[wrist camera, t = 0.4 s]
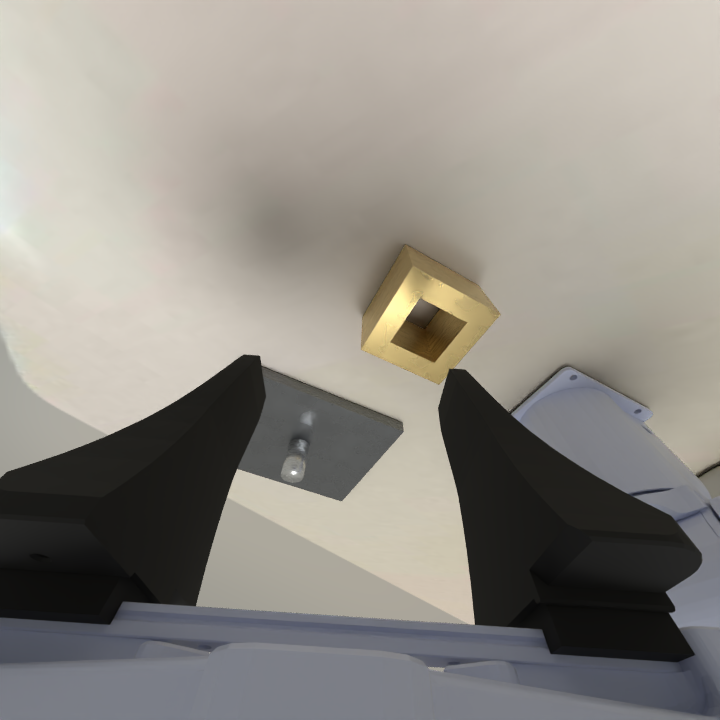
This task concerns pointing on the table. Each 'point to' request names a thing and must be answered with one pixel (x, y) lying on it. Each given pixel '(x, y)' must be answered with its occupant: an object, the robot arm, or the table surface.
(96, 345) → the table surface
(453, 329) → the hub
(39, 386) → the table surface
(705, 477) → the cylinder vase
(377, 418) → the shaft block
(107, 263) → the table surface
